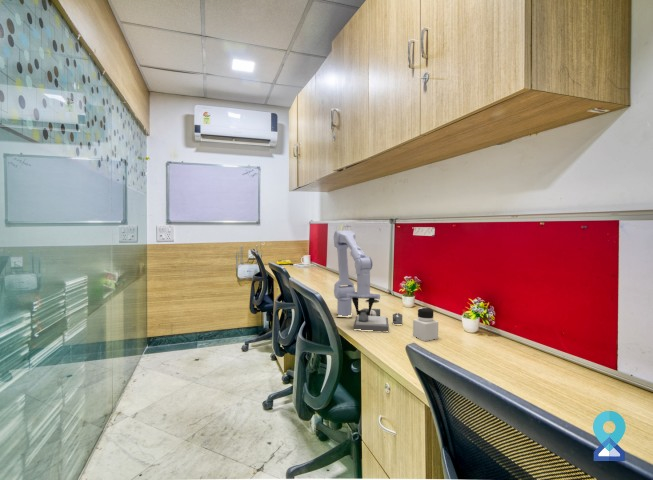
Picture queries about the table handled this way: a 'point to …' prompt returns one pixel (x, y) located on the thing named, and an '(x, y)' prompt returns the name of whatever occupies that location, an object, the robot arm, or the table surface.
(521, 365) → the table surface
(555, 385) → the table surface
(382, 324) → the scale
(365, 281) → the robot arm
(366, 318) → the weight
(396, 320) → the cylinder
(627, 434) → the table surface
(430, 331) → the medicine bottle
